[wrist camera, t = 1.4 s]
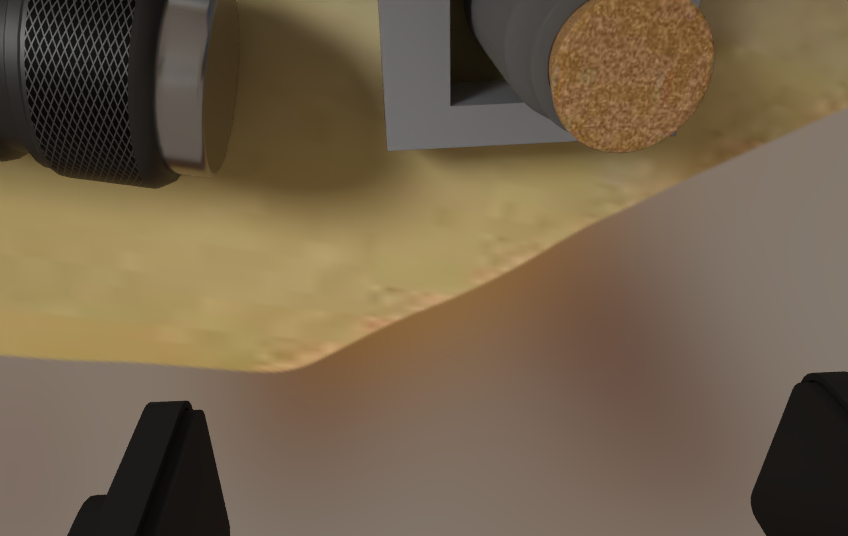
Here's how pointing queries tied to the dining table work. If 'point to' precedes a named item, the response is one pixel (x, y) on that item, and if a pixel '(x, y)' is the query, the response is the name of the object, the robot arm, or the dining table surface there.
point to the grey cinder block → (446, 88)
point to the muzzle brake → (119, 87)
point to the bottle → (601, 63)
